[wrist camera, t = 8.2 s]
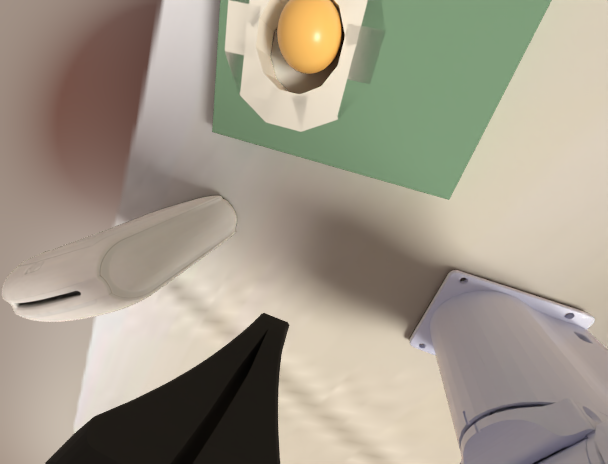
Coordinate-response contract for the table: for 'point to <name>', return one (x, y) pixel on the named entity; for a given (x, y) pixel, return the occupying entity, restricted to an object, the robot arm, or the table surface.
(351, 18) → the mat
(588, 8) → the table surface
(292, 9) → the ball
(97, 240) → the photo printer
